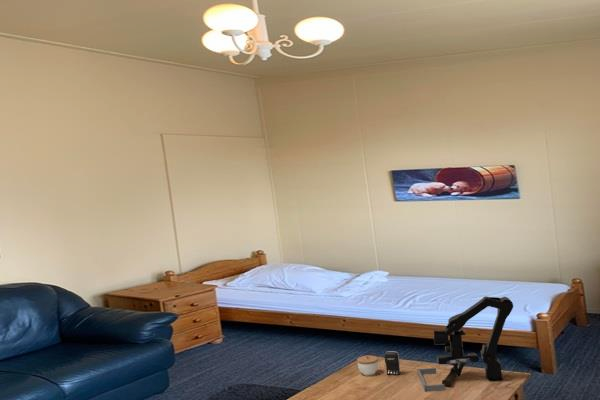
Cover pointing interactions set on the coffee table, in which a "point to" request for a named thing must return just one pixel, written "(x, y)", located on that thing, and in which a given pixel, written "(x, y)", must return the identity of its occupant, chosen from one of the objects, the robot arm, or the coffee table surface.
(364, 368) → the lidded jar
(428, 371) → the plate
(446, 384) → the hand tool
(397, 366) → the battery charger
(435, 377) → the coffee table surface
